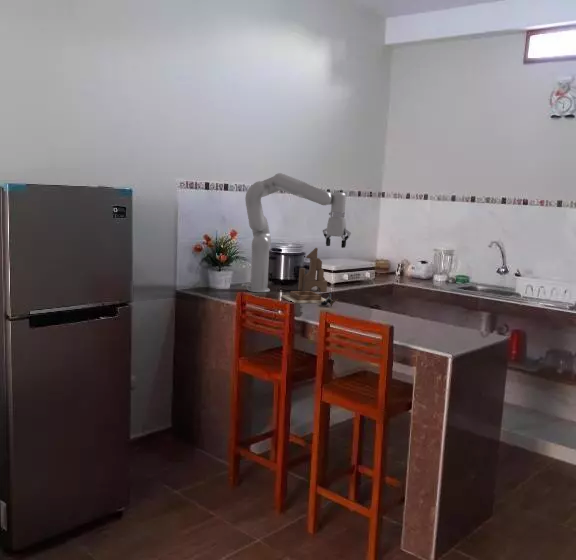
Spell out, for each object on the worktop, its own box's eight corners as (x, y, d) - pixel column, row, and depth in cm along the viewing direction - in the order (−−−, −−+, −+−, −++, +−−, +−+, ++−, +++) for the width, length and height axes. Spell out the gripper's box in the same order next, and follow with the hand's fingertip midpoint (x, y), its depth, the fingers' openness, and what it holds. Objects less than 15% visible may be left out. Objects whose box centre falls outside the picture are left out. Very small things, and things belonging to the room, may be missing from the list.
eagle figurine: (341, 304, 317) (333, 298, 325) (336, 293, 314) (328, 287, 321) (328, 312, 316) (321, 306, 324) (323, 301, 312) (316, 295, 320)
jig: (293, 303, 319) (293, 296, 319) (281, 296, 336) (281, 290, 336) (329, 303, 326) (330, 296, 326) (316, 296, 343) (316, 290, 342)
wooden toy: (322, 290, 368) (325, 247, 364) (326, 292, 361) (329, 248, 358) (297, 289, 363) (300, 246, 359) (301, 291, 357) (304, 247, 353)
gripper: (320, 214, 345) (318, 245, 347) (348, 216, 335) (345, 248, 337) (327, 214, 351) (325, 245, 353) (355, 216, 341) (352, 248, 344)
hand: (335, 246), depth 345 cm, fingers open, 9 cm apart
